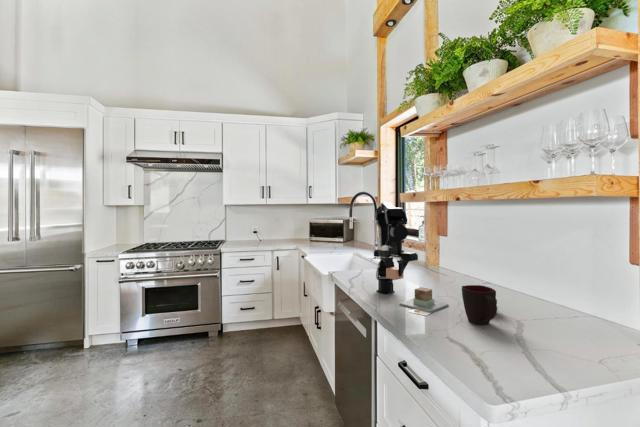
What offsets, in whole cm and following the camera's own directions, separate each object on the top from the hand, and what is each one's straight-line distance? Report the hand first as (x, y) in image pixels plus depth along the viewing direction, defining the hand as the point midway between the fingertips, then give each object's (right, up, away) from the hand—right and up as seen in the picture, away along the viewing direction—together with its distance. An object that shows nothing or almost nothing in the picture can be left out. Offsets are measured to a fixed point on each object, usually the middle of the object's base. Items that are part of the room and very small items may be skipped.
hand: (394, 275), depth 133 cm
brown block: (+12, -10, 0) cm, 15 cm away
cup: (+25, -13, -22) cm, 36 cm away
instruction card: (+8, -13, -9) cm, 17 cm away
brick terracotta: (0, -1, 0) cm, 1 cm away
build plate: (+12, -12, 0) cm, 17 cm away
